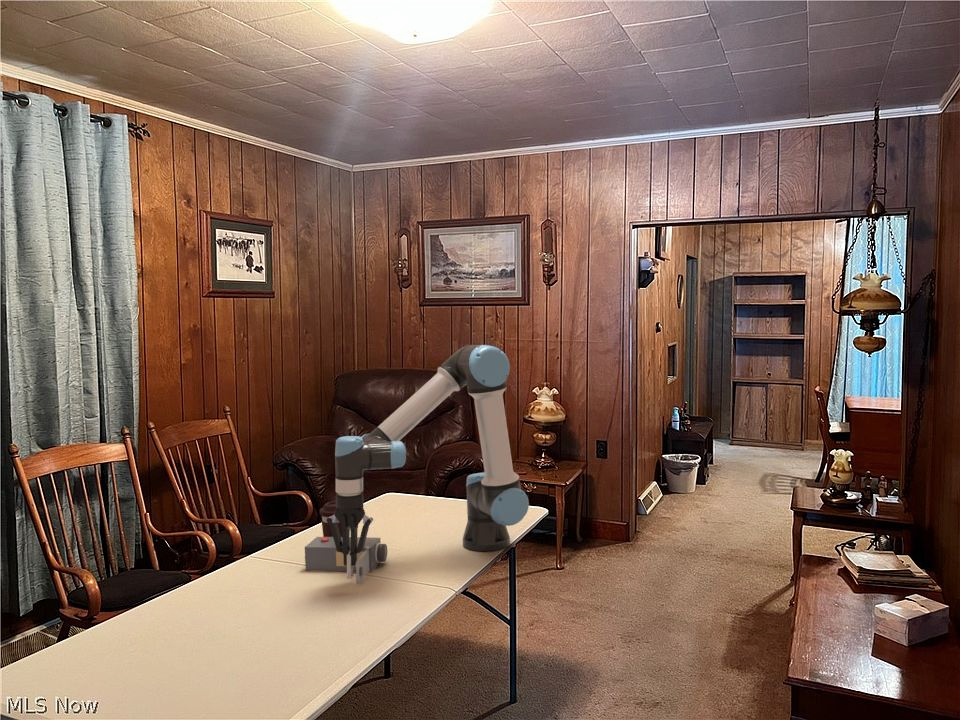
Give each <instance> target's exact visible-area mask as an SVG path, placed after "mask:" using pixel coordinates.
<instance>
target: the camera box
mask: <svg viewBox="0 0 960 720" xmlns="http://www.w3.org/2000/svg"><path fill="white" fill-rule="evenodd" d="M341 539H342V537H341ZM350 539H351V536H350ZM359 539H360V536H359V537H358V536H357V547H358V543H359ZM381 542H382V541H381V537H370V536H369V537H366V541H365V545H364V549H363V550H362V551H361V552H360V553H357V560H358V559H359V557H360V556H361V555H362V554H363V553H364V552H365V550H369V572H368V573H372V572H373V571H374V569H376V568H377V566H379V564H380V563H385V562H387V558H388V545H387V544H386V543H381ZM342 543H343V539H342ZM349 553H350V551H349ZM304 562H305V571H307V572H308V571H310V572H311V571H314V572H317V571H318V572H347V566H344V555H343V553H341V552H337V550H336V546H335V542H334V539H333V537H323V536H316V537H315V538H313V539H312V540H311V541H310V542H309V543H307V545H305V546H304ZM355 572H356V565H355V566H354V573H355Z"/></svg>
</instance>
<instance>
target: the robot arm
mask: <svg viewBox="0 0 960 720" xmlns="http://www.w3.org/2000/svg"><path fill="white" fill-rule="evenodd" d="M510 366H511V365H510V360H509V358H508V356H507V354H506V353H504V351H502V350H501V349H500V348H498V347H496V346H493V345H489V344H468V345H465V346H463V347H460V348H459V349H458V350H456V351H455V352H454V353H453V354H452V355H450V356H449V358H447V359H446V360H444V362H443V363H442V364H441V365H439V366H438V367H437V372H436V374H434V375H433V376H432V377H431V379H429V380H428V381H427V382H426V383H425V384H424V385H422V386H421V387H420V388H419V389H418V390H417V391H416V392H415V393H413V394H412V395H411V396H410V397H409V398H408V399H407V400H406V401H405V402H404V403H403V404H401V405H400V406H399V407H398V408H397V409H396V410H394V412H392V413H391V414H390V415H389V416H388V417H387V418H386V419H384V420H383V421H382V423H380V424H379V425H378V426H377V427H376V428H374V429H373V430H372V431H371V432H370V433H365V434H362V436H358V435H352V436H351V435H346V436H341V437H338V438H337V439H336V440H335V449H334V452H335V453H334V459H335V460H334V461H335V462H334V464H335V493H336V494H335V501H336V510H335V512H334V515H333V516H330V517H329V518H327V522H328V524H329V525H330V527H331V531H332V535H333V539H334V542H335V546H336V550H337V552H341V553H343V555H344V566H347V571H346V579H352V578H353V576H354V573H355V572H354V566H355V565H356V561H357V553H360V552H361V551H362V550H363V549H364V545H365V541H366V537H367V536H368V532H369V528H370V525H371V524H372V522H373V520H374V518H373V517H369V516H367V515H366V511H365V510H364V509H365V508H364V493H363V492H364V471H373V470H387V469H391V470H392V469H397V468H402V467H404V465H405V464H406V460H407V452H406V446H405V444H404V443H403V441H401V440H402V439H403V438H404V437H405V436H406V435H407V434H408V433H409V432H410V431H412V430H413V429H414V428H415V427H416V426H417V425H418V424H419V423H420V422H421V421H423V420H424V419H425V418H426V417H427V416H429V414H430V413H431V412H433V411H434V410H435V409H436V408H437V407H438V406H439V405H440V404H441V403H442V402H444V401H445V400H446V399H447V398H448V397H449V396H451V394H452V393H454V392H459V391H460V390H462V389H463V388H464V387H465V386H466V388H467V393H468V395H469V396H471V397H472V398H473V399H474V401H473V402H474V407H475V408H474V409H475V415H476V421H477V422H476V423H477V426H478V427H477V428H478V434H479V443H480V448H481V455H482V460H483V469H484V471H483V472H477V473H472V474H469V475H467V477H466V484H465V487H466V509H467V510H466V512H467V513H466V514H467V520H466V521H467V522H466V526H465V528H464V529H465V530H464V532H463V537H462V546H463V548H464V549H467V550H469V551H470V550H471V551H475V552H495V551H499V550H504V549H506V548H507V547H509V546H510V545H511V537H510V534H509V530H508V527H509V526H514V525H516V524H519V523H521V521H522V520H523V519H524V517H526V515H527V514H528V511H529V505H530V502H529V498H528V495H527V494H526V492H525V491H524V490H523V489H522V486H521V480H520V475H519V474H518V473H516V472H515V471H514V468H513V460H512V454H511V445H510V438H509V431H508V426H507V425H508V424H507V416H506V410H505V404H504V403H505V402H504V397H503V396H504V392H505V391H506V390H507V388H508V387H507V381H506V380H507V379H508V376H509V375H510V368H511V367H510ZM337 520H338V521H339V522H340V524H341V527H342V539H343V543H342V539H341V535H340V531H339V528H338V524H337ZM361 521H362V524H363V526H362V529H361V533H360V535H359V537H360V539H359V543H358V547H357V537H358V530H359V529H358V528H359V524H360V523H361ZM507 526H508V527H507ZM349 527H350V536H349ZM350 537H351V539H350ZM349 551H350V553H349Z"/></svg>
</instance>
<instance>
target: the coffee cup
mask: <svg viewBox="0 0 960 720" xmlns="http://www.w3.org/2000/svg"><path fill="white" fill-rule="evenodd" d="M335 510H336V500H334V501H329V502H328V501H327V502H326V503H325V504H324V505H323V507H321V508H320V509H319V515H320V517H321V527H322V529H321V530H322V537H333V535H332V531H331V527H330V525H329V524H328V522H327V518H329V517H330V516H333V515H334V512H335ZM337 524H338V528H339V531H340V535H341V537H342V527H341V524H340V522H339V521H338V520H337ZM349 536H350V537H351V531H350V527H349Z"/></svg>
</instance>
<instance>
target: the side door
mask: <svg viewBox="0 0 960 720" xmlns="http://www.w3.org/2000/svg"><path fill="white" fill-rule="evenodd" d="M368 573H370V572H369V550H365V552H364V553H363V554H362V555H361V556H360V557H359V559H358V560H357V561H356V573H355V574H356V584H360V583H361V582H362V581H363V579H364V578H365V577H366V575H368Z"/></svg>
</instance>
